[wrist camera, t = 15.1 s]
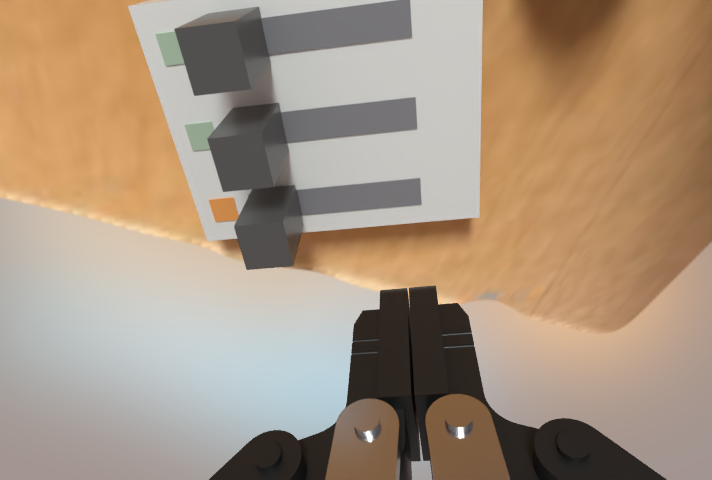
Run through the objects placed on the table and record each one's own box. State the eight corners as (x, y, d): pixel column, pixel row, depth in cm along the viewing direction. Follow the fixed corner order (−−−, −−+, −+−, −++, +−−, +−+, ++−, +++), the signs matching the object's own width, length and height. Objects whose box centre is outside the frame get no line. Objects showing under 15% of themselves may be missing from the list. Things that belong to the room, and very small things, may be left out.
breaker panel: (473, -45, 28) (507, -39, 21) (472, 197, 37) (495, 261, 29) (148, 0, 30) (77, 20, 23) (218, 221, 38) (182, 286, 31)
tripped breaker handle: (295, 184, 33) (282, 221, 28) (303, 225, 34) (293, 266, 30) (252, 189, 33) (233, 226, 29) (262, 229, 35) (246, 269, 30)
